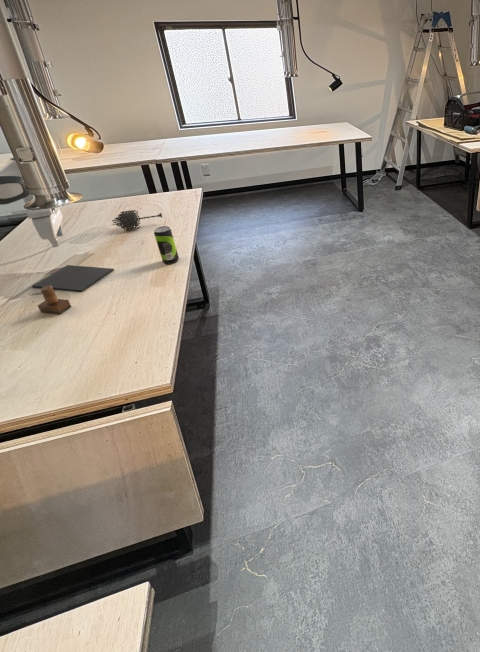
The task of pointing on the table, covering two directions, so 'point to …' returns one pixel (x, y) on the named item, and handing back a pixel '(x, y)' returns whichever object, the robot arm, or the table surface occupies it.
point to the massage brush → (130, 219)
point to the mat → (74, 278)
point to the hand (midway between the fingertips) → (58, 240)
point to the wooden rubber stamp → (52, 302)
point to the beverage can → (166, 244)
